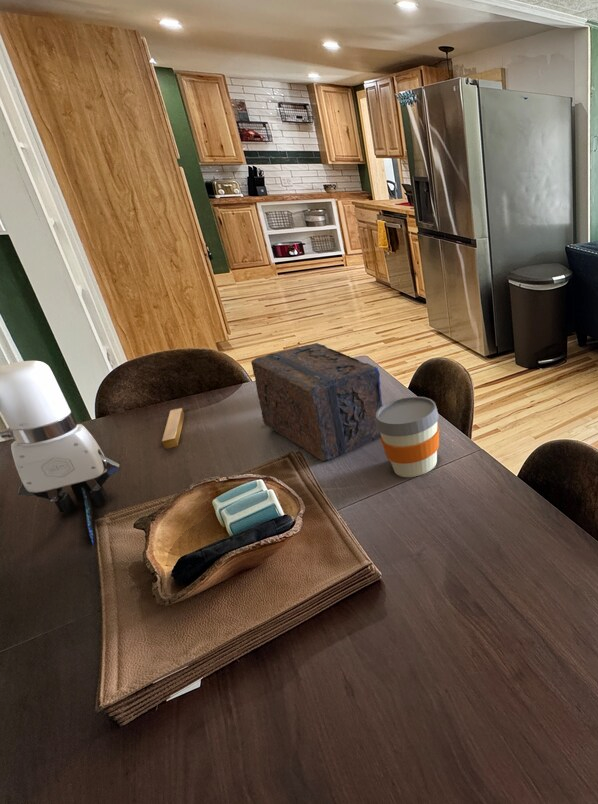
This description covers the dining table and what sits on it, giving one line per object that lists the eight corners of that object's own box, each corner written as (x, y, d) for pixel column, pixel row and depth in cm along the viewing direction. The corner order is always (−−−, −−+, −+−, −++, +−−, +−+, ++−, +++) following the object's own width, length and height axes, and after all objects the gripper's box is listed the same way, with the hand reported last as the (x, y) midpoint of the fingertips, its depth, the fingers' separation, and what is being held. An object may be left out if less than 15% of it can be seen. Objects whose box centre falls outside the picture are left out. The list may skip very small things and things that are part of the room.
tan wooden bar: (164, 449, 112) (161, 441, 111) (173, 417, 126) (170, 410, 125) (177, 445, 114) (174, 438, 113) (184, 414, 127) (182, 407, 126)
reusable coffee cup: (396, 493, 98) (384, 431, 93) (378, 465, 107) (366, 407, 102) (454, 470, 106) (446, 411, 100) (432, 445, 115) (424, 390, 109)
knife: (80, 471, 102) (71, 454, 100) (100, 465, 104) (91, 449, 102) (78, 564, 83) (67, 547, 81) (102, 555, 85) (92, 538, 83)
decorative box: (328, 405, 135) (250, 430, 118) (321, 337, 129) (238, 354, 112) (400, 436, 121) (323, 470, 104) (396, 362, 115) (314, 385, 98)
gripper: (-34, 452, 78) (17, 538, 85) (104, 423, 87) (140, 503, 94) (-16, 432, 84) (31, 514, 91) (112, 407, 93) (145, 483, 100)
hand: (86, 507), depth 92 cm, fingers open, 3 cm apart
